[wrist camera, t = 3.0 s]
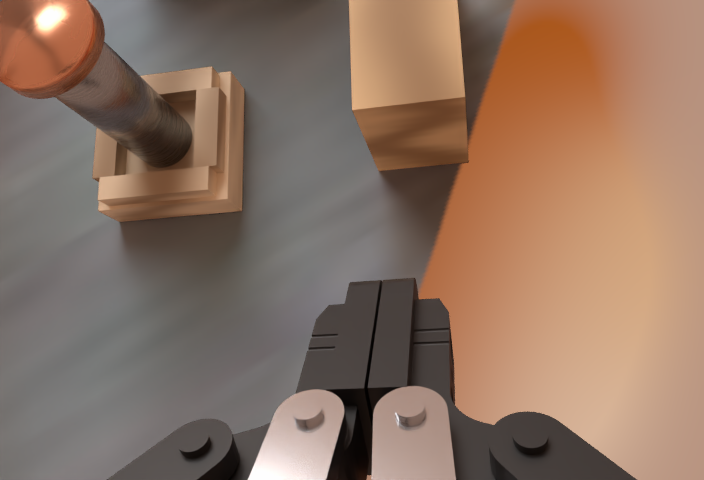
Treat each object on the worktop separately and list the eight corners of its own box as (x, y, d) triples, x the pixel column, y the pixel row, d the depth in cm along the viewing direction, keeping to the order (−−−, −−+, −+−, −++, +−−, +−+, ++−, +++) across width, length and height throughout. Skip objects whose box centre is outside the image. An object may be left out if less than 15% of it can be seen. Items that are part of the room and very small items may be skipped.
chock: (378, 171, 32) (352, 110, 25) (371, 1, 35) (346, -95, 28) (468, 162, 31) (465, 96, 25) (454, -11, 34) (448, -113, 27)
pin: (123, 184, 32) (-26, 92, 23) (128, 106, 34) (-11, -12, 24) (203, 176, 32) (83, 77, 22) (206, 96, 33) (93, -30, 23)
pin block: (119, 221, 34) (86, 204, 31) (127, 104, 36) (97, 78, 33) (242, 210, 33) (219, 192, 30) (244, 89, 35) (223, 61, 32)
